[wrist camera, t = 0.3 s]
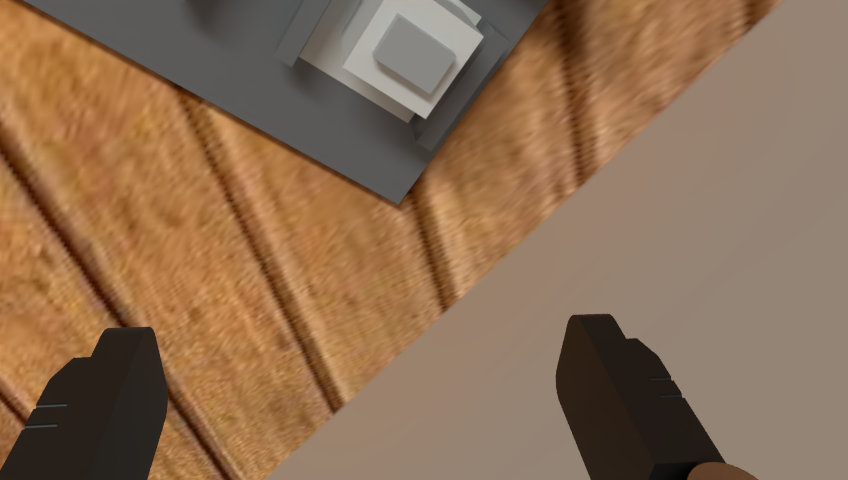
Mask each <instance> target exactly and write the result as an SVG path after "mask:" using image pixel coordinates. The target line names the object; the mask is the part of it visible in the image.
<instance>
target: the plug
mask: <svg viewBox="0 0 848 480" xmlns="http://www.w3.org/2000/svg"><path fill="white" fill-rule="evenodd" d="M483 37H484V36H483V35H482V34H481V33H480V31H479V30H478V29H477V28H476V26H475V25H474V24H473V23H472V21H471V20H470V19H469V18H468V16H467V15H466V14H465V13H464V12H463V10H462V9H461V8H460V7H459V6H457V5H456V4H455V3H453V2H452V1H451V0H361V1H360V3H359V4H358V6H357V8H356V9H355V11H354V13H353V14H352V16H351V18H350V19H349V21H348V23H347V24H346V26H345V28H344V29H343V31H342V33H341V40H342V67H343V68H345V69H346V70H348V71H349V72H351V73H353V74H354V75H356V76H357V77H359V78H361V79H362V80H364V81H366V82H367V83H369V84H370V85H372V86H374V87H375V88H377V89H378V90H380V91H382V92H383V93H385V94H386V95H388V96H390V97H391V98H393V99H394V100H396V101H398V102H399V103H401V104H402V105H404V106H406V107H407V108H409V109H410V110H412V111H414V112H415V113H417V114H418V115H420V116H422V117H423V118H425V119H426V118H427V116H428V115H429V114H430V112H431V111H432V109H433V108H434V107H435V105H436V104H437V102H438V101H439V100H440V98H441V97H442V95H443V94H444V92H445V91H446V90H447V88H448V87H449V85H450V84H451V83H452V81H453V80H454V78H455V77H456V75H457V74H458V73H459V71H460V70H461V68H462V67H463V66H464V64H465V63H466V61H467V60H468V59H469V57H470V56H471V54H472V53H473V51H474V50H475V49H476V47H477V46H478V44H479V43H480V42H481V40H482V39H483Z"/></svg>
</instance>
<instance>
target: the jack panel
mask: <svg viewBox="0 0 848 480" xmlns="http://www.w3.org/2000/svg"><path fill="white" fill-rule="evenodd" d="M23 1H25V2H27V3H29V4H31V5H33V6H34V7H36V8H38V9H40V10H42V11H44V12H45V13H47V14H49V15H51V16H53V17H55V18H56V19H58V20H60V21H62V22H64V23H66V24H68V25H69V26H71V27H73V28H75V29H77V30H79V31H80V32H82V33H84V34H86V35H88V36H90V37H91V38H93V39H95V40H97V41H99V42H101V43H102V44H104V45H106V46H108V47H110V48H112V49H113V50H115V51H117V52H119V53H121V54H123V55H124V56H126V57H128V58H130V59H132V60H134V61H135V62H137V63H139V64H141V65H143V66H145V67H146V68H148V69H150V70H152V71H154V72H156V73H157V74H159V75H161V76H163V77H165V78H167V79H168V80H170V81H172V82H174V83H176V84H178V85H180V86H181V87H183V88H185V89H187V90H189V91H191V92H192V93H194V94H196V95H198V96H200V97H202V98H203V99H205V100H207V101H209V102H211V103H213V104H214V105H216V106H218V107H220V108H222V109H224V110H225V111H227V112H229V113H231V114H233V115H235V116H236V117H238V118H240V119H242V120H244V121H246V122H247V123H249V124H251V125H253V126H255V127H257V128H258V129H260V130H262V131H264V132H266V133H268V134H269V135H271V136H273V137H275V138H277V139H279V140H281V141H282V142H284V143H286V144H288V145H290V146H292V147H293V148H295V149H297V150H299V151H301V152H303V153H304V154H306V155H308V156H310V157H312V158H314V159H315V160H317V161H319V162H321V163H323V164H325V165H326V166H328V167H330V168H332V169H334V170H336V171H337V172H339V173H341V174H343V175H345V176H347V177H348V178H350V179H352V180H354V181H356V182H358V183H359V184H361V185H363V186H365V187H367V188H369V189H370V190H372V191H374V192H376V193H378V194H380V195H381V196H383V197H385V198H387V199H389V200H391V201H393V202H394V203H396V204H399V203H400V202H401V200H402V199H403V197H404V196H405V195H406V193H407V192H408V191H409V189H410V188H411V187H412V185H413V184H414V183H415V181H416V180H417V178H418V177H419V176H420V174H421V173H422V172H423V170H424V169H425V168H426V166H427V165H428V164H429V162H430V161H431V159H432V158H433V157H434V155H435V154H436V153H437V151H438V150H439V149H440V147H441V146H442V144H443V143H444V142H445V140H446V139H447V138H448V136H449V135H450V134H451V132H452V131H453V130H454V128H455V127H456V125H457V124H458V123H459V121H460V120H461V119H462V117H463V116H464V115H465V113H466V112H467V110H468V109H469V108H470V106H471V105H472V104H473V102H474V101H475V100H476V98H477V97H478V96H479V94H480V93H481V91H482V90H483V89H484V87H485V86H486V85H487V83H488V82H489V81H490V79H491V78H492V76H493V75H494V74H495V72H496V71H497V70H498V68H499V67H500V66H501V64H502V63H503V62H504V60H505V59H506V57H507V56H508V55H509V53H510V52H511V51H512V49H513V48H514V47H515V45H516V44H517V42H518V41H519V40H520V38H521V37H522V36H523V34H524V33H525V32H526V30H527V29H528V28H529V26H530V25H531V23H532V22H533V21H534V19H535V18H536V17H537V15H538V14H539V13H540V11H541V10H542V8H543V7H544V6H545V4H546V3H547V2H548V0H451V1H452V2H453V3H455V4H456V5H457V6H459V7H460V8H461V9H462V10H463V12H464V13H465V14H466V15H467V16H468V18H469V19H470V20H471V21H472V23H473V24H474V25H475V26H476V28H477V29H478V30H479V31H480V33H481V34H482V35H483V36H484V37H483V39H482V40H481V42H480V43H479V44H478V46H477V47H476V49H475V50H474V51H473V53H472V54H471V56H470V57H469V59H468V60H467V61H466V63H465V64H464V66H463V67H462V68H461V70H460V71H459V73H458V74H457V75H456V77H455V78H454V80H453V81H452V83H451V84H450V85H449V87H448V88H447V90H446V91H445V92H444V94H443V95H442V97H441V98H440V100H439V101H438V102H437V104H436V105H435V107H434V108H433V109H432V111H431V112H430V114H429V115H428V116H427V118H426V119H425V118H423V117H422V116H420V115H418V114H417V113H415V112H414V111H412V110H410V109H409V108H407V107H406V106H404V105H402V104H401V103H399V102H398V101H396V100H394V99H393V98H391V97H390V96H388V95H386V94H385V93H383V92H382V91H380V90H378V89H377V88H375V87H374V86H372V85H370V84H369V83H367V82H366V81H364V80H362V79H361V78H359V77H357V76H356V75H354V74H353V73H351V72H349V71H348V70H346V69H345V68H343V67H342V40H341V33H342V31H343V29H344V28H345V26H346V24H347V23H348V21H349V19H350V18H351V16H352V14H353V13H354V11H355V9H356V8H357V6H358V4H359V3H360V1H361V0H23Z"/></svg>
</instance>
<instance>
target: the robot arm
mask: <svg viewBox="0 0 848 480" xmlns="http://www.w3.org/2000/svg"><path fill="white" fill-rule="evenodd" d="M556 389H557V394H558V398H559V401H560V404H561V406H562V409H563V412H564V414H565V417H566V419H567V421H568V424H569V426H570V429H571V431H572V434H573V436H574V439H575V441H576V444H577V446H578V449H579V451H580V454H581V456H582V459H583V461H584V464H585V466H586V469H587V471H588V474H589V476H590V479H591V480H758V479H757V478H755V477H754V476H753V475H751V474H749V473H748V472H746V471H744V470H742V469H740V468H738V467H735V466H733V465H730V464H726V463H725V461H724V460H723V458H722V456H721V455H720V453H719V452H718V450H717V448H716V447H715V445H714V444H713V442H712V441H711V439H710V437H709V436H708V434H707V432H706V431H705V429H704V428H703V426H702V425H701V423H700V421H699V420H698V418H697V417H696V415H695V414H694V412H693V410H692V409H691V407H690V406H689V404H688V403H687V401H686V399H685V398H682V393H681V391H680V390H679V388H678V387H677V385H676V384H675V382H674V381H672V380H671V376H670V374H669V373H668V371H667V370H666V368H665V366H664V365H663V363H662V361H661V360H660V358H659V357H658V356H657V355H656V354H655V353H654V352H652V351H651V350H650V349H649V348H648V347H647V346H645V345H644V344H643V343H642V342H640V341H639V340H638V339H637V338H636V339H635V338H633V339H626V338H625V336H624V334H623V333H622V331H621V329H620V328H619V326H618V324H617V322H616V321H615V319H614V318H613V316H611V315H610V314H586V315H572V316H571V317H570V319H569V321H568V324H567V328H566V333H565V337H564V341H563V345H562V349H561V354H560V358H559V362H558V366H557V370H556ZM167 405H168V391H167V384H166V380H165V375H164V371H163V367H162V362H161V358H160V354H159V349H158V345H157V341H156V336H155V333H154V331H153V329H152V328H151V327H128V328H107V329H105V330H104V332H103V333H102V335H101V337H100V339H99V341H98V343H97V345H96V347H95V349H94V351H93V353H92V355H91V357H83V358H73V359H72V360H71V361H70V362H68V363H67V364H66V365H65V366H64V367H63V368H62V369H61V370H60V371H58V372H57V373H56V374H55V375H54V376H53V377H52V378H51V379H50V380H49V382H48V383H47V385H46V387H45V389H44V391H43V393H42V394H41V396H40V398H39V400H38V402H37V404H36V409H33V411H32V413H31V415H30V417H29V418H28V420H27V422H26V424H25V430H22V431H21V433H20V435H19V437H18V439H17V441H16V442H15V444H14V446H13V448H12V450H11V452H10V453H9V455H8V457H7V459H6V461H5V463H4V464H3V466H2V468H1V470H0V480H147V478H148V475H149V472H150V468H151V465H152V462H153V458H154V455H155V452H156V448H157V445H158V442H159V438H160V435H161V432H162V429H163V425H164V422H165V418H166V413H167Z"/></svg>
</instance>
